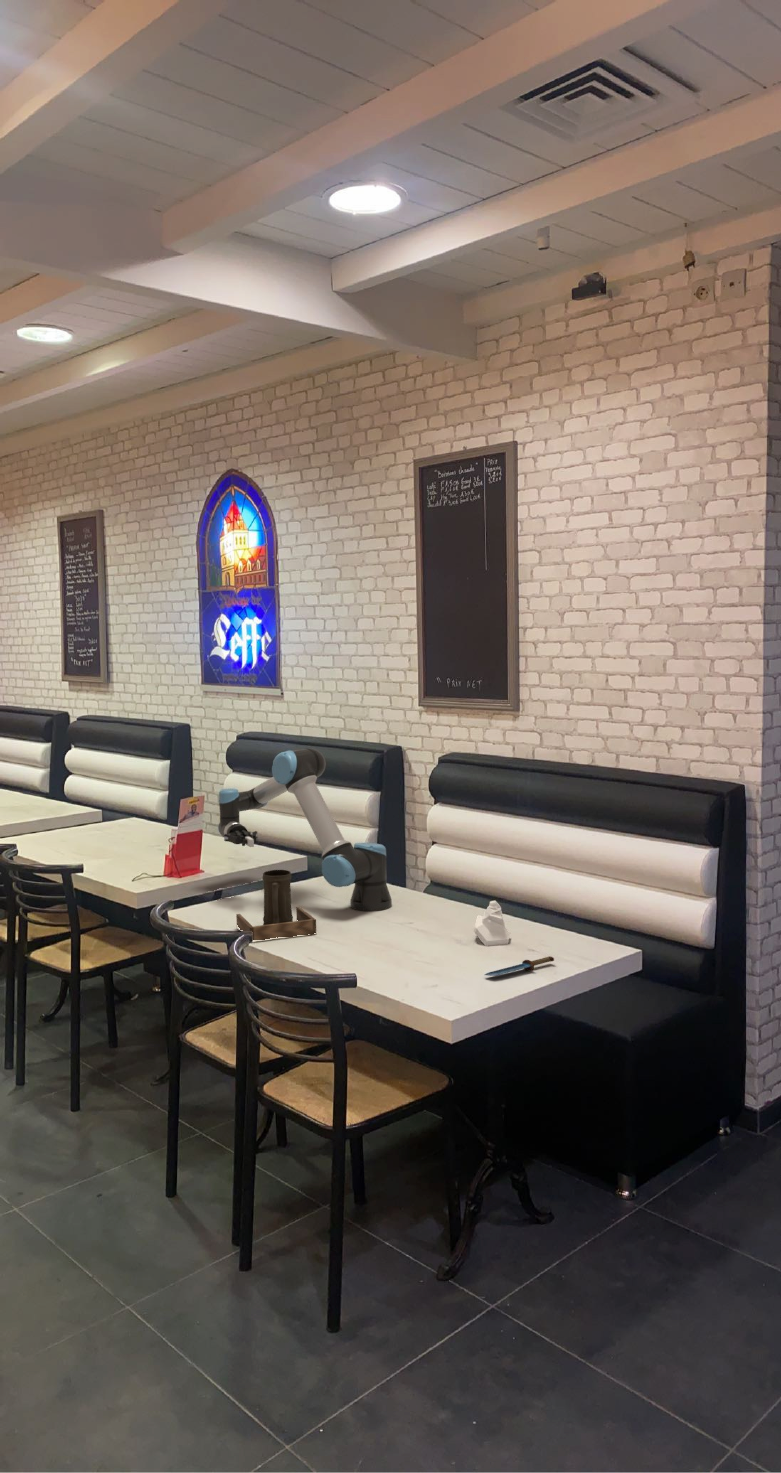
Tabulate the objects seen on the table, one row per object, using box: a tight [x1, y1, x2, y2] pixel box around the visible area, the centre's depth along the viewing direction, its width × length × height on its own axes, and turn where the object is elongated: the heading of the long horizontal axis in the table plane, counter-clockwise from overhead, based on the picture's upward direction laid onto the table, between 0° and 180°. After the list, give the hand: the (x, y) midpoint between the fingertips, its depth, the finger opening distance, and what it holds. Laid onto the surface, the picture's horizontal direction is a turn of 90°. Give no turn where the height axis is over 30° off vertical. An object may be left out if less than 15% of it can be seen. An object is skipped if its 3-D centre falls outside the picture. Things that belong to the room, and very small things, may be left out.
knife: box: [484, 956, 555, 977], centre depth 301 cm, size 24×3×5 cm
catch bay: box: [235, 906, 317, 940], centre depth 347 cm, size 22×18×5 cm
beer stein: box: [261, 869, 294, 925], centre depth 349 cm, size 15×10×20 cm
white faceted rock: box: [473, 900, 511, 947], centre depth 333 cm, size 12×15×14 cm
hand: (251, 843), depth 372 cm, fingers closed
